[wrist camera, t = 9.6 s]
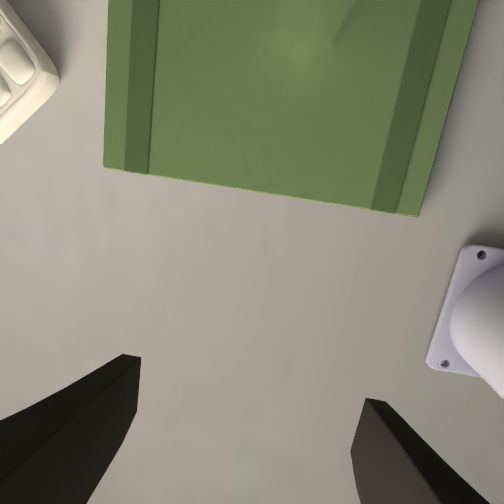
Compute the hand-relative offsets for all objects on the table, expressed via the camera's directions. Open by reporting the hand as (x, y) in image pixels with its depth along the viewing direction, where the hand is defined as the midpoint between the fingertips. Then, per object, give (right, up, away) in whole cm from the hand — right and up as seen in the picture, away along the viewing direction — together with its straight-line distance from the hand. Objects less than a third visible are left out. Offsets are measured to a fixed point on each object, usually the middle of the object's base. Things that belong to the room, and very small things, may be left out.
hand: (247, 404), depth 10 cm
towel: (+2, +16, +7) cm, 17 cm away
